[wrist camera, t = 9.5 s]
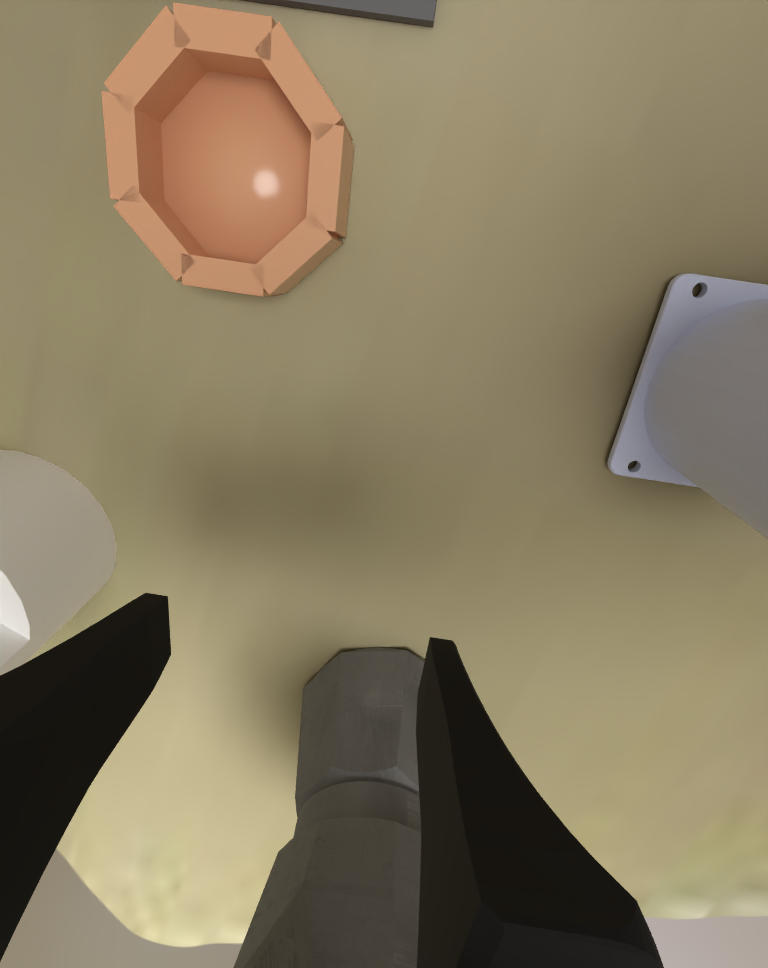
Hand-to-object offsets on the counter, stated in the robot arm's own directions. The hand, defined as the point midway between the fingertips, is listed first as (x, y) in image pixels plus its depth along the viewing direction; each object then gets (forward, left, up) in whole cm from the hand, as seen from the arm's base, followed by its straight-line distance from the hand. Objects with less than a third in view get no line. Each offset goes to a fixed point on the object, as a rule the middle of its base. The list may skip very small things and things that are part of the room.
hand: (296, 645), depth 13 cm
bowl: (+5, -12, -10) cm, 17 cm away
